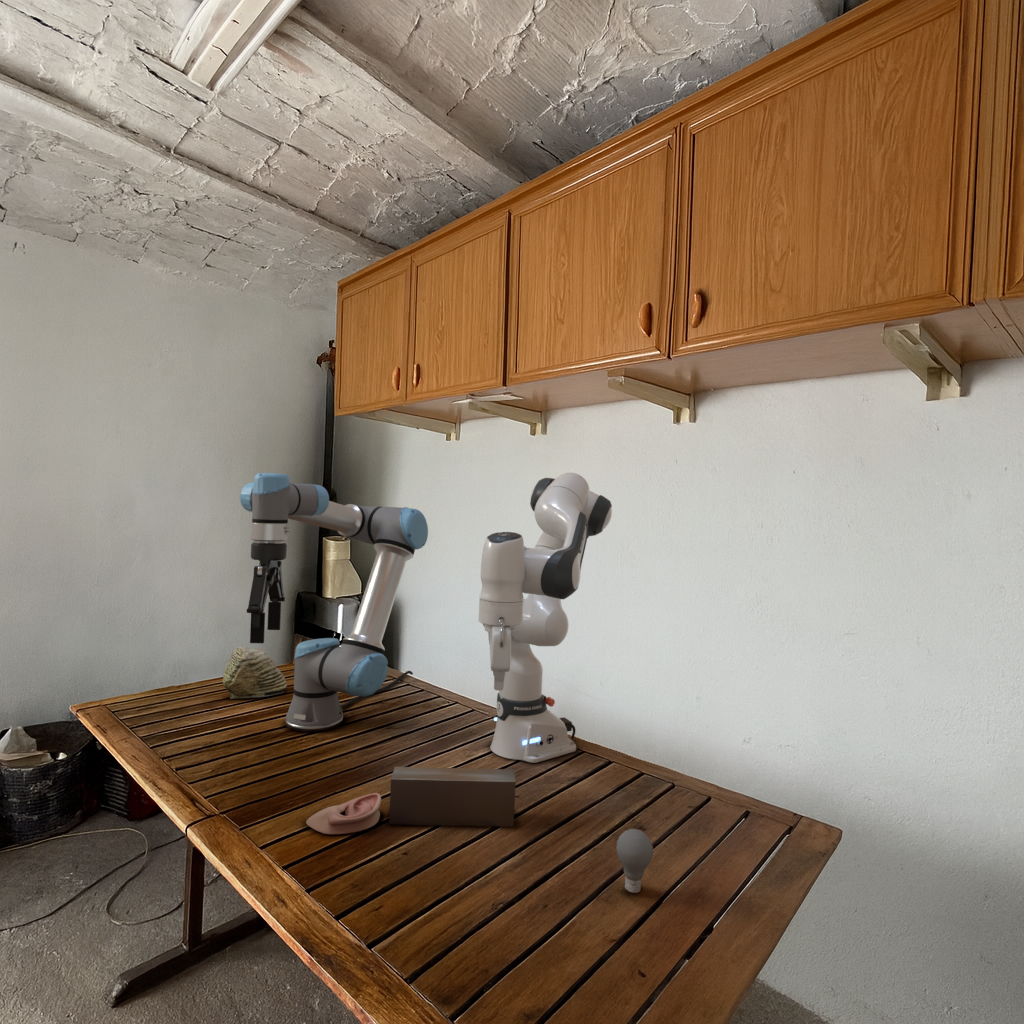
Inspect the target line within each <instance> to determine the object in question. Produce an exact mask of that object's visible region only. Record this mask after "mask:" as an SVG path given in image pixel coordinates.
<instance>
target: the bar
mask: <svg viewBox="0 0 1024 1024" xmlns="http://www.w3.org/2000/svg"><path fill="white" fill-rule="evenodd" d="M515 773H516V772H515V769H510V768H508V769H507V768H469V767H468V768H467V767H465V768H464V767H461V768H460V767H428V766H427V767H425V766H424V767H423V766H422V767H421V766H420V767H419V766H394V768H393V771H392V774H391V778H390V791H389V816H388V817H389V818H388V825H391V826H393V825H397V826H400V825H401V826H443V827H444V826H445V827H446V826H447V827H449V826H450V827H451V826H452V827H493V828H494V827H497V828H498V827H499V828H503V827H504V828H514V827H515V825H514V824H515V805H516V804H515V803H516V784H517V783H516V782H517V781H516V774H515Z"/></svg>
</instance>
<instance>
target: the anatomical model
mask: <svg viewBox="0 0 1024 1024" xmlns="http://www.w3.org/2000/svg"><path fill="white" fill-rule="evenodd" d="M381 803H382V796H381V794H380V793H379V792H373V793H368V794H364V795H362V796H358V797H356V798H353V799H351V800H348V801H346V802H343V803H340V804H338V805H332V806H328V807H325V808H323V809H321V810H319V811H317V812H315V813H313V814H312V815H311V816H310V817H308V818H307V819H306V821H305V824H306V825H307V826H308V827H309V828H311V829H312V830H314V831H316V832H319V833H321V834H323V835H343V834H351V833H356V832H362V831H365V830H367V829H369V828H370V829H371V828H372V827H374V826H375V825H376V824H377V823H379V821H380V818H381V812H380V810H379V809H380V807H381Z"/></svg>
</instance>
